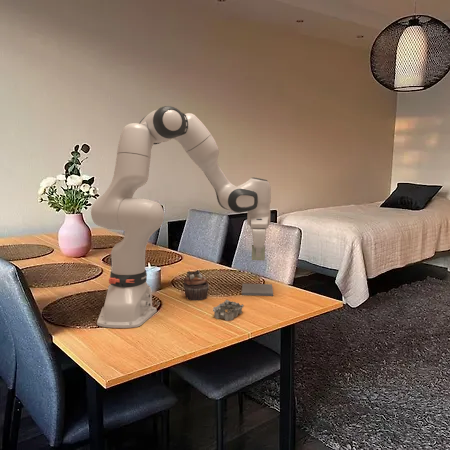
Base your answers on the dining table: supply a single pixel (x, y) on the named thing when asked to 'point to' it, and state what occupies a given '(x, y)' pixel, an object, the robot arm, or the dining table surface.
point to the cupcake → (195, 286)
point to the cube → (255, 254)
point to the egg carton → (231, 308)
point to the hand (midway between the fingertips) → (258, 254)
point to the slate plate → (257, 289)
